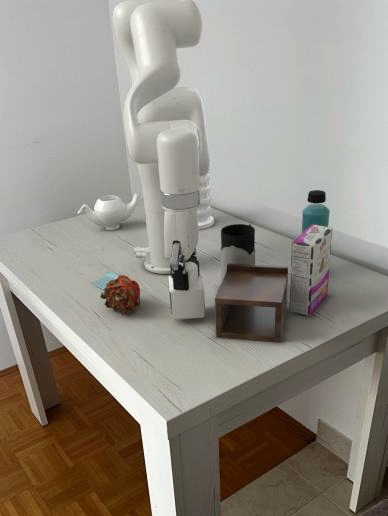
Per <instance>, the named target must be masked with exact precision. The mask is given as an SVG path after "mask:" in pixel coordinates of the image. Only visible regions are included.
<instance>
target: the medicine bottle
mask: <svg viewBox="0 0 388 516" xmlns="http://www.w3.org/2000/svg"><path fill="white" fill-rule="evenodd" d="M179 258H184V257H179ZM179 264H181V265H182V267H183V261H179ZM171 267H172V266H171V263H170V270H171V274H170V275H169V276H168V277H167V279H168V290H169V291H168V292H169V293H168V294H169V303H170V304H169V305H170V315H171V320H172V321H176V320H177V321H178V320H189V319H190V320H191V319H202V318H205V317H206V299H205V298H206V297H205V286H204V282H203V277H202V274H201V272H200V271H201V270H200V261H199V260H198V258H197V259H195V258H192V257H190V258H189V259H188V260H187V271H186V272H188V277H189V290H188V291H184V290H174V289H173V276H172V268H171Z"/></svg>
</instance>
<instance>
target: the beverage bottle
mask: <svg viewBox="0 0 388 516" xmlns="http://www.w3.org/2000/svg"><path fill="white" fill-rule="evenodd" d="M307 193H308V194H307V199H306V201H307V203H310V204H308V205H306V206H305V207H304V208H303V209H302V210H301V211H302V212H301V213H302V216H301V218H302V219H301V233H300V235H301V234H302V233H303V232H304V231H305V230H307V229H308V228H309V227H310V226H311V225H318V226H319V225H321V226H327V227H329V223H330V212H331V211H330V209H329V208H328V207H327V206H326V205H325V204H323V203H326V202H327V201H326V200H327V198H326V197H327V196H326V191H324V190H320V189H313V190H310V191H308V192H307Z"/></svg>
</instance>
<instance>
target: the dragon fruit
mask: <svg viewBox="0 0 388 516" xmlns="http://www.w3.org/2000/svg"><path fill="white" fill-rule="evenodd" d="M105 286H106V287H104V288H103V292H101V293H100V299H102V300H105V302H104V307H106V308H107V309H111V310H113V311H114V312H117V313H120V314H129V313H131V312H132V311H133V310H134V309H135V308H136V307H140V305H141V297H140V296H141V289H140V285H139V283H138V282H137V281H136V280H132V279H131V278H129V277H128V276H127V275H123V274H119V275H118V276H117V278H115V279H110V280H109V281H108V282H107V283H106V285H105Z"/></svg>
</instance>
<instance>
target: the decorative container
mask: <svg viewBox="0 0 388 516" xmlns="http://www.w3.org/2000/svg"><path fill="white" fill-rule="evenodd" d="M211 168H212V162H211V161H210V167H209V170H211ZM209 170H208V172H207V173H206V174H205V175H203V176H199V179H200V207H199V208H197V219H198V231H199V230H205V229H209V228H210V227H212V226H213V225H214V223H215V219H214V216H212V215H211V212H212V207H211V199H212V198H211V195H210V191H211V185H210V179H211V176H210V171H209Z"/></svg>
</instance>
